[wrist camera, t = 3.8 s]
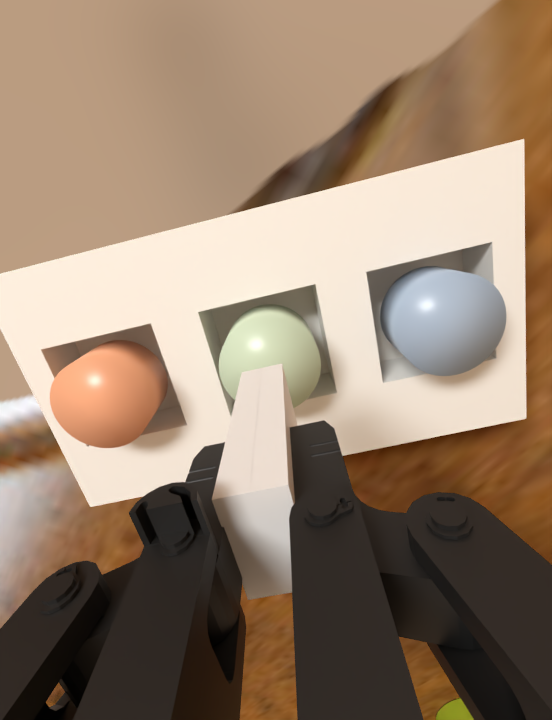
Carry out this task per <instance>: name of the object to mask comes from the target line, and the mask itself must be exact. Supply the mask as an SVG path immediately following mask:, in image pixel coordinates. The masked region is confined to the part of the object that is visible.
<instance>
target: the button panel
mask: <svg viewBox="0 0 552 720" xmlns="http://www.w3.org/2000/svg"><path fill="white" fill-rule="evenodd" d="M425 266H437V267H443V268H447V269H452V270H457V271H461V272H466V273H471V274H475V275H478V276H481V277H483V278H485V279H486V280H488V281H490V282H491V283H492V284H493V285H494V286H495V287H496V288H497V289H498V290H499V292H500V294H501V295H502V297H503V300H504V303H505V307H506V326H505V330H504V333H503V336H502V338H501V340H500V342H499V344H498V346H497V347H496V349H495V350H494V351H493V353H492V354H491V355H490V356H489V357H488V358H487V359H486V360H485V361H483V362H482V363H481V364H479V365H478V366H477V367H475V368H473V369H471V370H469V371H467V372H464V373H461V374H457V375H452V376H436V375H432V374H428V373H425V372H423V371H421V370H419V369H418V368H417V367H415V366H414V365H413V364H412V363H411V362H410V361H409V360H408V359H406V358H405V357H404V356H403V355H402V354H401V353H400V352H399V351H398V350H397V349H396V348H395V347H394V346H393V345H392V344H391V343H390V342H389V341H388V340H387V338H386V337H385V335H384V333H383V331H382V328H381V323H380V309H381V305H382V302H383V299H384V297H385V294H386V293H387V291H388V290H389V288H390V287H391V286H392V284H393V283H394V282H395V281H396V280H397V279H398V278H400V277H401V276H402V275H404V274H406V273H407V272H409V271H411V270H414V269H416V268H420V267H425ZM265 304H275V305H281V306H285V307H287V308H290V309H292V310H293V311H295V312H296V313H298V314H299V315H300V316H301V317H302V318H303V319H304V320H305V321H306V322H307V324H308V326H309V327H310V330H311V332H312V335H313V337H314V340H315V343H316V345H317V348H318V351H319V354H320V359H321V372H320V377H319V380H318V383H317V385H316V387H315V389H314V391H313V392H312V393H311V395H310V396H309V397H308V398H307V399H306V400H305V401H304V402H302V403H301V404H300V405H298V406H296V407H295V408H293V409H294V413H295V417H296V421H297V425H298V426H299V425H304V424H308V423H313V422H318V421H323V420H325V421H326V422H327V423H328V424H330V425H331V426H332V427H333V428H334V429H335V432H336V436H337V439H338V443H339V446H340V449H341V453H342V456H344V455H349V454H354V453H359V452H364V451H369V450H374V449H379V448H384V447H389V446H394V445H399V444H404V443H409V442H413V441H418V440H423V439H428V438H433V437H438V436H443V435H448V434H453V433H458V432H463V431H468V430H473V429H478V428H483V427H488V426H492V425H497V424H502V423H507V422H512V421H517V420H522V419H526V312H525V186H524V139H522V140H518V141H514V142H510V143H506V144H502V145H499V146H495V147H491V148H487V149H483V150H479V151H475V152H471V153H467V154H464V155H460V156H456V157H452V158H448V159H444V160H440V161H436V162H433V163H429V164H425V165H421V166H417V167H413V168H409V169H405V170H401V171H398V172H394V173H390V174H386V175H382V176H378V177H374V178H370V179H366V180H363V181H359V182H355V183H351V184H347V185H343V186H339V187H335V188H332V189H328V190H324V191H320V192H316V193H312V194H308V195H304V196H300V197H297V198H293V199H289V200H285V201H281V202H277V203H273V204H269V205H265V206H262V207H258V208H254V209H250V210H246V211H242V212H238V213H234V214H230V215H227V216H223V217H219V218H215V219H212V220H207V221H203V222H199V223H196V224H192V225H188V226H184V227H180V228H176V229H172V230H168V231H164V232H161V233H157V234H153V235H149V236H145V237H141V238H138V239H133V240H130V241H126V242H122V243H118V244H114V245H110V246H107V247H103V248H98V249H95V250H91V251H87V252H83V253H79V254H75V255H71V256H67V257H63V258H60V259H56V260H52V261H48V262H44V263H40V264H36V265H33V266H29V267H25V268H21V269H17V270H13V271H9V272H5V273H2V274H0V329H1V331H2V333H3V335H4V337H5V339H6V341H7V343H8V345H9V347H10V349H11V351H12V353H13V355H14V357H15V359H16V361H17V363H18V365H19V367H20V369H21V371H22V373H23V375H24V377H25V378H26V381H27V383H28V385H29V386H30V388H31V390H32V392H33V394H34V396H35V398H36V400H37V402H38V404H39V406H40V408H41V410H42V412H43V414H44V416H45V418H46V420H47V422H48V424H49V426H50V428H51V430H52V432H53V434H54V436H55V438H56V440H57V442H58V444H59V446H60V448H61V450H62V452H63V454H64V456H65V458H66V460H67V462H68V464H69V466H70V468H71V470H72V472H73V474H74V476H75V478H76V480H77V482H78V484H79V486H80V488H81V490H82V492H83V493H84V495H85V497H86V499H87V501H88V503H89V505H90V507H93V506H98V505H102V504H107V503H112V502H117V501H122V500H127V499H132V498H137V497H142V496H145V495H146V494H147V493H149V492H151V491H153V490H155V489H156V488H158V487H160V486H164V485H167V484H170V483H175V482H185V481H186V478H187V475H188V474H189V470H190V467H191V464H192V461H193V459H194V457H195V456H196V455H197V454H198V453H199V452H200V451H201V450H202V448H203V447H204V446H209V445H214V444H219V443H223V442H225V441H226V437H227V433H228V429H229V424H230V420H231V416H232V412H233V407H234V403H235V400H234V399H233V398H232V397H231V396H230V395H229V393H228V392H227V391H226V389H225V387H224V385H223V383H222V381H221V378H220V373H219V357H220V353H221V350H222V347H223V345H224V343H225V341H226V338H227V336H228V334H229V332H230V329H231V327H232V326H233V324H234V322H235V321H236V320H237V319H238V318H239V317H240V316H241V315H242V314H243V313H244V312H246V311H247V310H249V309H251V308H253V307H256V306H259V305H265ZM113 340H127V341H132V342H135V343H138V344H140V345H142V346H144V347H146V348H147V349H149V350H150V351H151V352H153V353H154V354H155V355H156V356H157V358H158V359H159V360H160V361H161V363H162V365H163V366H164V369H165V371H166V374H167V379H168V389H167V394H166V397H165V399H164V401H163V402H162V404H161V405H160V407H159V408H158V410H157V411H156V413H155V414H154V416H153V417H152V419H151V420H150V422H149V424H148V425H147V427H146V428H145V430H144V431H143V433H142V434H141V435H140V436H139V437H138V438H137V439H135V440H134V441H132V442H131V443H129V444H127V445H124V446H121V447H116V448H99V447H94V446H90V445H87V444H85V443H82V442H80V441H78V440H77V439H75V438H74V437H72V436H71V435H69V434H68V433H67V432H66V431H65V430H64V429H63V428H62V427H61V426H60V424H59V423H58V421H57V420H56V418H55V416H54V414H53V412H52V409H51V405H50V389H51V385H52V383H53V381H54V379H55V377H56V376H57V374H58V373H59V372H60V371H61V370H62V369H63V368H65V367H66V366H68V365H69V364H71V363H72V362H74V361H75V360H77V359H78V358H80V357H82V356H83V355H85V354H86V353H88V352H89V351H91V350H92V349H94V348H96V347H97V346H99V345H100V344H102V343H105V342H108V341H113Z"/></svg>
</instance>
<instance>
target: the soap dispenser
mask: <svg viewBox="0 0 552 720" xmlns="http://www.w3.org/2000/svg"><path fill="white" fill-rule="evenodd" d="M436 720H474V719H473V717H472V716H471V714H470V712H469V711H468V709H467V708H466V706H465V704H464V703H463V701H462V699H461V698H459V699H456V700H453V701H451V702H449V703H447V704H446V705H444V706H443V707H442V708H441V709H440V710H439V711H438V713H437V716H436Z"/></svg>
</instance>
